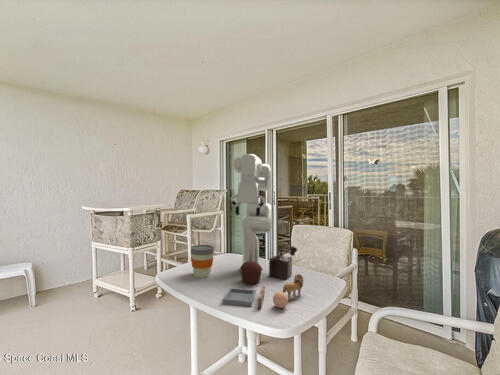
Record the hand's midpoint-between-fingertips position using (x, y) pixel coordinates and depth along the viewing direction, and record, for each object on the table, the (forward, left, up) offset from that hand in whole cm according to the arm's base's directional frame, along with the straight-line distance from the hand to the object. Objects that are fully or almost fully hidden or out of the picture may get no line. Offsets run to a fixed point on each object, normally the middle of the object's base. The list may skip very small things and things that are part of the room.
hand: (247, 215), depth 116 cm
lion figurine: (+4, +22, -35) cm, 42 cm away
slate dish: (+11, -1, -35) cm, 37 cm away
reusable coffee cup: (-13, -27, -35) cm, 46 cm away
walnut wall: (+12, +9, -35) cm, 38 cm away
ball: (+15, +17, -35) cm, 41 cm away
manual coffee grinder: (-21, +18, -35) cm, 45 cm away
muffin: (-9, +1, -35) cm, 36 cm away
